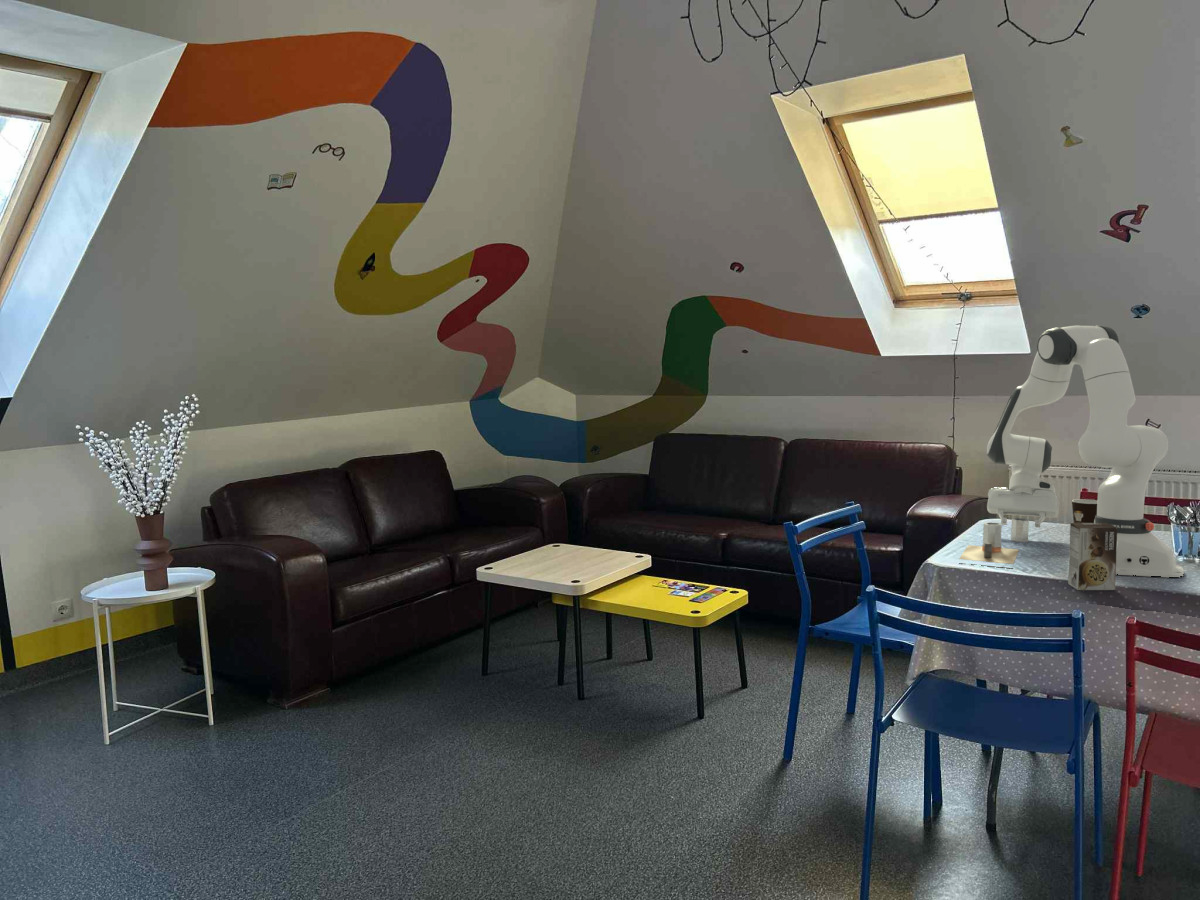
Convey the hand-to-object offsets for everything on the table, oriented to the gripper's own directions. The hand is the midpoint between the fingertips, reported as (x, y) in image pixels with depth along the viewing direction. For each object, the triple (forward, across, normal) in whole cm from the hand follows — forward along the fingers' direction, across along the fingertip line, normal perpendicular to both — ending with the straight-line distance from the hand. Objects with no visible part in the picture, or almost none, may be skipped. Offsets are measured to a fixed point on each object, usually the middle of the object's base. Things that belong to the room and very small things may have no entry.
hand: (1020, 525), depth 280 cm
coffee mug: (-16, +18, +25) cm, 35 cm away
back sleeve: (+17, -6, -11) cm, 21 cm away
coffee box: (+38, +20, -29) cm, 51 cm away
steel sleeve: (+5, 0, +4) cm, 6 cm away
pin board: (+22, -6, -13) cm, 26 cm away
